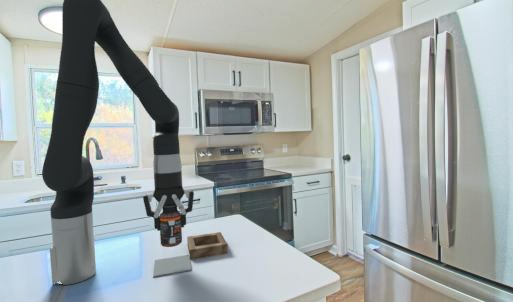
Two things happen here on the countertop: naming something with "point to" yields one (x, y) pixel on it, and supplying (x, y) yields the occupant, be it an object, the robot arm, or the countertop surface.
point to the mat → (172, 265)
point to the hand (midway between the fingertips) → (170, 228)
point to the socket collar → (206, 249)
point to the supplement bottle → (170, 226)
